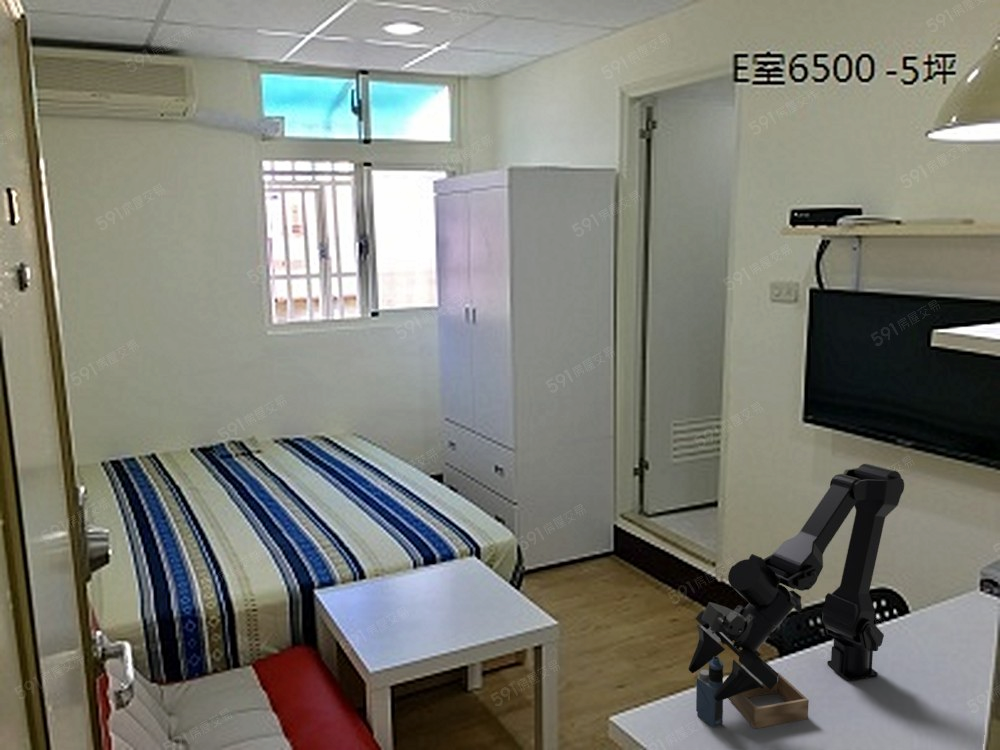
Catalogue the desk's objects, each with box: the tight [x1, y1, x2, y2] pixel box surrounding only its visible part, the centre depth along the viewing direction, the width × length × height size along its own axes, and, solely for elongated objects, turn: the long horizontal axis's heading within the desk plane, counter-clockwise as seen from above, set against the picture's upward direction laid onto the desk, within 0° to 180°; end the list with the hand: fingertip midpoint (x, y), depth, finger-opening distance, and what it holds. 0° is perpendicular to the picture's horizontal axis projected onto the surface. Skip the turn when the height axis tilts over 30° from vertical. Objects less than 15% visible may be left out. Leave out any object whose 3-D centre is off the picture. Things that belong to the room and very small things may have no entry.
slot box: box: [727, 672, 810, 729], centre depth 137 cm, size 10×9×4 cm
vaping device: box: [695, 656, 724, 728], centre depth 134 cm, size 3×5×12 cm, turn 27°
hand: (702, 685), depth 133 cm, fingers open, 9 cm apart
